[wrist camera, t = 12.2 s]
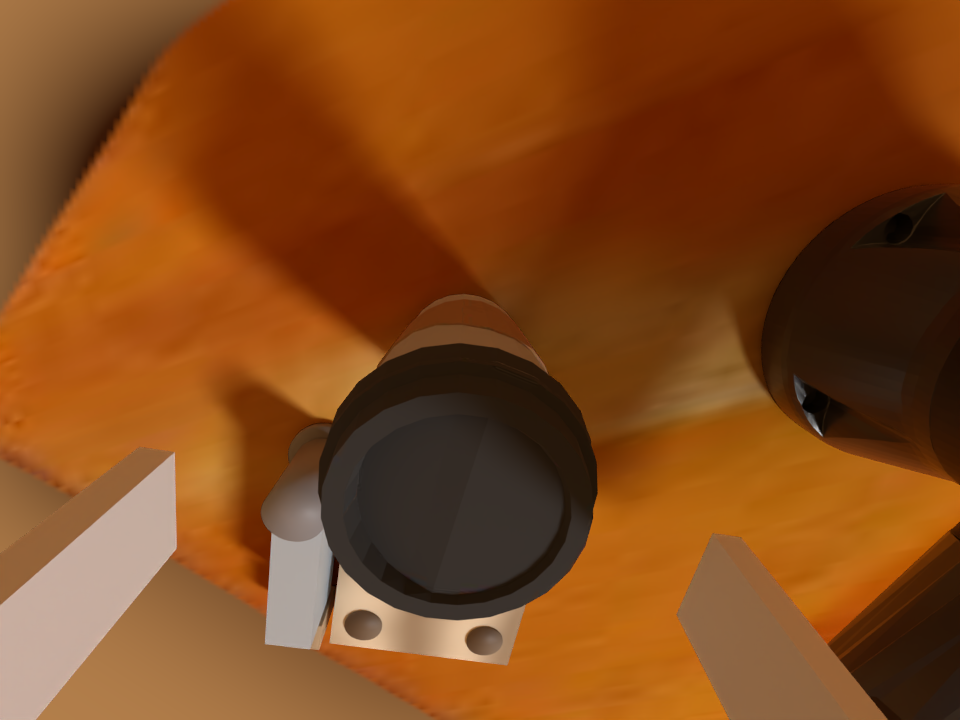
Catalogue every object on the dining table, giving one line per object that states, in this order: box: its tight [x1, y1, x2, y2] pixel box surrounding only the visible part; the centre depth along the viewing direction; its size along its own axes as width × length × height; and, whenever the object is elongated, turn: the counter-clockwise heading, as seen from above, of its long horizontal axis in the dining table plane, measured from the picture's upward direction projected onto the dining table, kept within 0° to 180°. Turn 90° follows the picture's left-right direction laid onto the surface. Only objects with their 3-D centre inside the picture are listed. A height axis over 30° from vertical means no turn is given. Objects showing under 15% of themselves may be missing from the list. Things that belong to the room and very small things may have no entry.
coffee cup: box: [318, 294, 597, 621], centre depth 19 cm, size 8×8×15 cm
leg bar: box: [261, 438, 334, 649], centre depth 27 cm, size 12×3×5 cm, turn 169°
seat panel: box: [288, 423, 525, 665], centre depth 29 cm, size 16×15×3 cm
